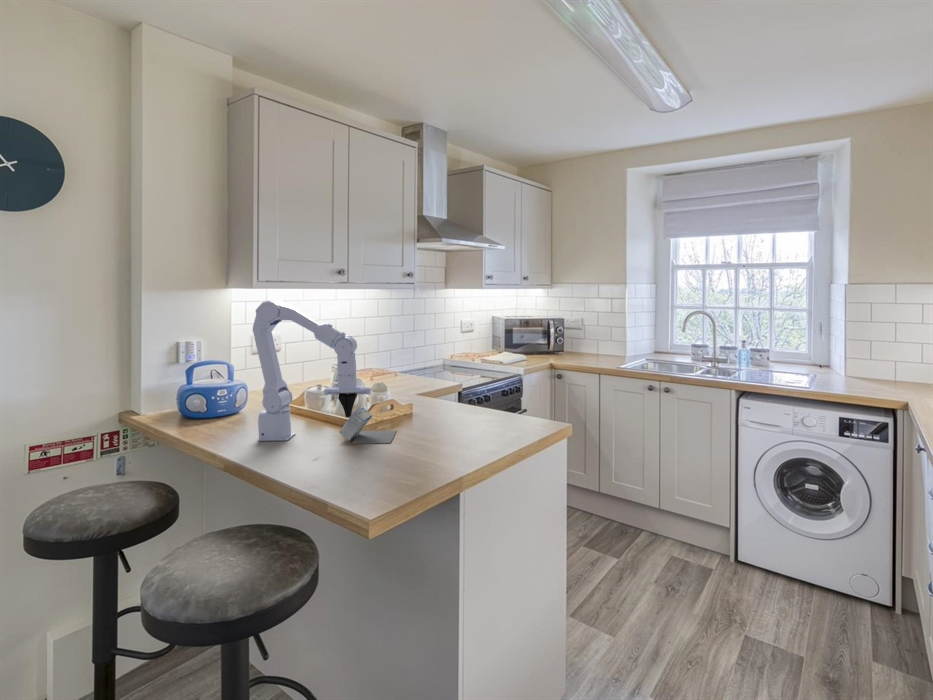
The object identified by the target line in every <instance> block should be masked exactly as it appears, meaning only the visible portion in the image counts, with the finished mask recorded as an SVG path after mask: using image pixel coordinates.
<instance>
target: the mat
mask: <svg viewBox="0 0 933 700" xmlns="http://www.w3.org/2000/svg"><path fill="white" fill-rule="evenodd" d="M396 433H397V430H361V431H360V433H359V434H358V435H356V436H355V437H354V438H353V441H352V442H351V445H368V444H370V445H373V444H374V445H378V444H379V445H383V444H384V445H385V444H387V445H389V444H392V442H393V440H394V438H395V436H396Z"/></svg>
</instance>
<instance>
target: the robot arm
mask: <svg viewBox="0 0 933 700" xmlns="http://www.w3.org/2000/svg"><path fill="white" fill-rule="evenodd" d="M255 313H256V314H255V317H254V322H253V325H252V333H253V337H254V341H255V346H256V349H257V354H258V358H259V359H258V360H259V363H260V368H261V372H262V376H263V379H264V386H263V389H262V395H263V397H262V399H261V400H262V407H263V408H264V410H261V411H260V412H259V414H258V418H257V425H258V426H257V427H258V430H257V431H258V439H257V441H259V442H267V441H268V442H269V441H270V442H271V441H289V440H290V439H291V438H293V437H294V436H295V435H296V432H292V421H291V407H290V405H291V403H292V402H293V394H292V392H291V390H290V389H289V388H288V384H287V383H286V381H285V380H284V379H283V376H282V372H281V367H280V364H279V363H280V362H279V359H278V354H277V350H276V345H275V341H274V338H273V337H274V336H273V330H274V329H275V328H276V327H277V325H278V324H279V323H281V322H282V321H292V322H294V323H295V324H297V325H299V326H301V327H302V328H304V329H306V330H308V331H310V332H312V333H313V334H314V338H315V339H316V340H318V341H319V342H321V343H323V344H324V345H325V346H326V347H327V346H328V347H329V348H330V349H333V350H334V352H335V354H336V357H337V358H336V359H337V361H336V362H337V364H336V365H337V387H325V388H324V389H323V395H324V396H328V395H329V396H331V395H335V396H336V395H338V396H337V398H338V401H339V402H340V404H341V406H342V408H343V412H344V415H345V418H350V416H351V415H352V414H353V413H352V412H353V408H354V404H355V402H356V399H357V397H358V395H371V394H372V387H368V386H367V387H363V386H362V387H361V386H357V361H356V351H357V349H358V348H357V347H358V343H357V341H356V339H355V338H354V337H353V336H351V335H346V333H345V332H343V331H342V332H341V331H339V330H338V329H336V328H334V327H333V326H334V325H333V324H331V323H326V322H325V323H324V322H323V323H321V324H320V323H318V322H317V321H315V320H314V319H313V318H311V317H310V316H308V315H307V314H305V313H303V312H301V311H300V310H299V309H297V308H296V307H295V306H293V305H292V304H289V303H286V302H285V301H283V300H265V301H262V302H261V303H260V305H258V307H257V308H256V309H255Z"/></svg>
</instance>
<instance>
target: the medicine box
mask: <svg viewBox="0 0 933 700" xmlns="http://www.w3.org/2000/svg"><path fill="white" fill-rule="evenodd" d="M372 417H373V414H372V413H371V412H369V410H367V409H366V408H365V407H361V408H360V409H357V410H356V411H354V412H353V413H352V414H351V416H350V417H348V419H347V421H345V422H344V424H343V426H342V427H340V430H339V431H338V433H339V434H340V435H341V436H342V437H344V439H346V440H347V441H351V440H352V439H355V438H356V437H357V435H358V434H359V433H360V431H363V429H364V428H365V426H366V425H367V423H369V421H370V420H371V419H372Z"/></svg>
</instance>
